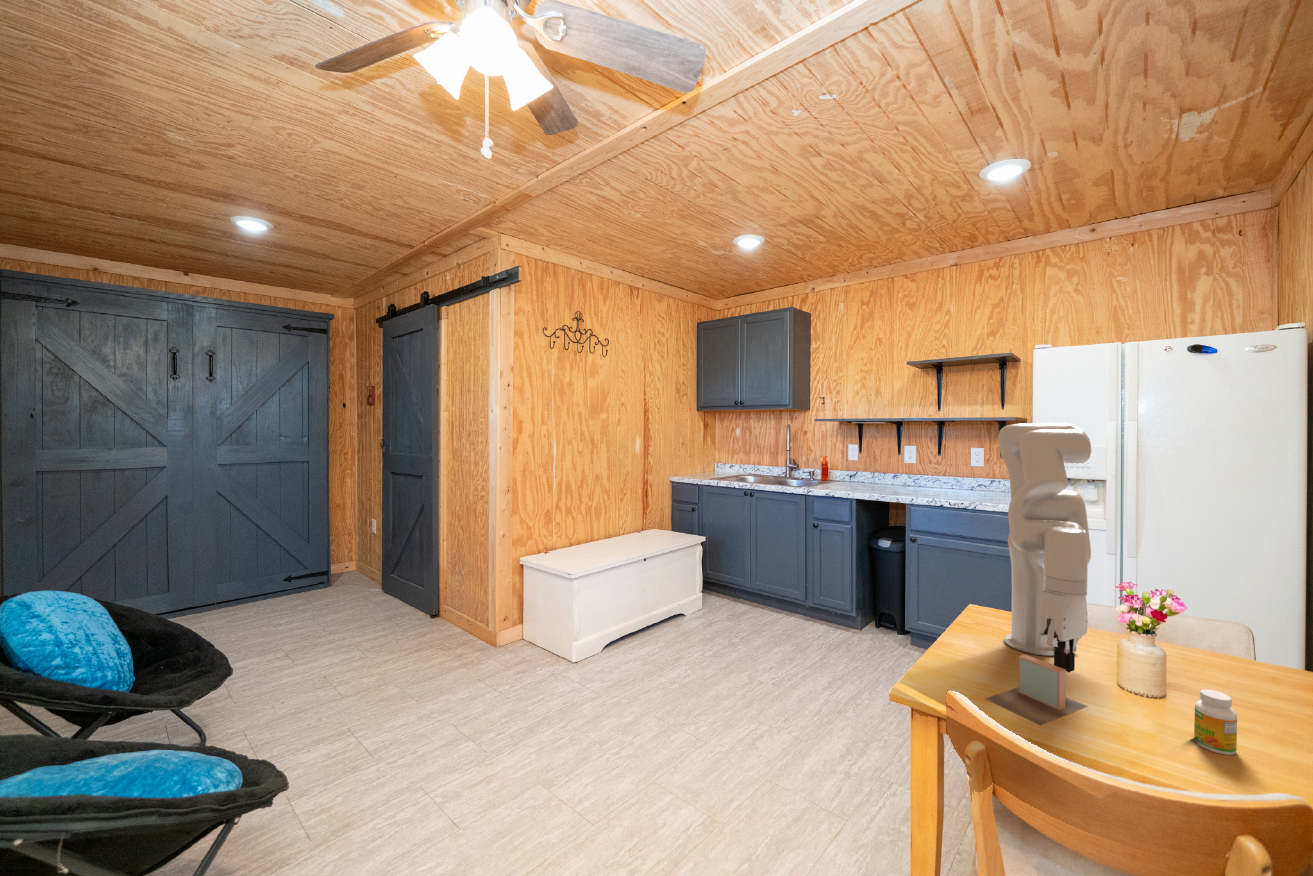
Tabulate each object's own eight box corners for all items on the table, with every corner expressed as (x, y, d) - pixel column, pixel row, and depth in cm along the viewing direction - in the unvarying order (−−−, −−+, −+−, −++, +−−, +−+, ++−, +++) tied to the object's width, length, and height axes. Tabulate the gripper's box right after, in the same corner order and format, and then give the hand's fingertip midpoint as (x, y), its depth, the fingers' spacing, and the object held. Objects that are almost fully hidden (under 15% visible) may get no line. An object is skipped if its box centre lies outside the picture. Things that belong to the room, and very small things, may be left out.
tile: (1024, 690, 116) (1024, 654, 116) (1065, 708, 109) (1065, 669, 109) (1018, 692, 115) (1018, 656, 115) (1058, 710, 108) (1059, 671, 108)
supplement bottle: (1185, 739, 100) (1186, 688, 100) (1211, 737, 101) (1212, 686, 100) (1218, 756, 95) (1219, 703, 95) (1245, 754, 95) (1246, 701, 95)
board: (1031, 688, 120) (1031, 682, 120) (1087, 711, 110) (1087, 706, 110) (984, 704, 113) (984, 698, 113) (1040, 731, 103) (1040, 724, 103)
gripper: (1066, 576, 121) (1065, 655, 122) (1025, 584, 115) (1024, 668, 116) (1104, 585, 115) (1103, 669, 115) (1063, 594, 108) (1062, 683, 109)
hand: (1064, 668), depth 115 cm, fingers closed
